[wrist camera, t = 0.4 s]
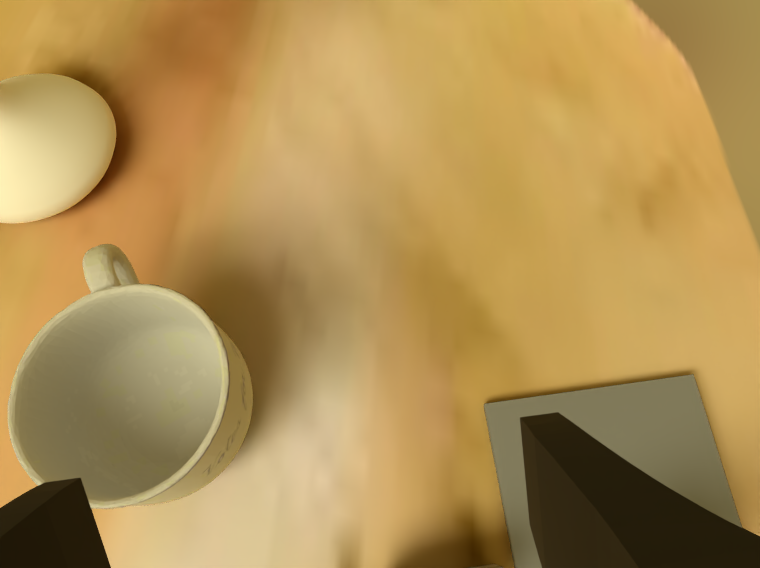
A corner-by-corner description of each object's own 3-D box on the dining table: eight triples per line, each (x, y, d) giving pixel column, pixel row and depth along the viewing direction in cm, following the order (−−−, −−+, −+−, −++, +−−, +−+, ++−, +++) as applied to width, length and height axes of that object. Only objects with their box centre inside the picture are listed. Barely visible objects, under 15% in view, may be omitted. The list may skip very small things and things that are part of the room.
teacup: (272, 497, 36) (235, 488, 28) (78, 527, 35) (-10, 525, 28) (255, 269, 41) (220, 210, 33) (86, 294, 41) (12, 240, 33)
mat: (769, 628, 32) (774, 630, 32) (532, 662, 32) (534, 664, 32) (689, 376, 37) (693, 374, 36) (483, 405, 37) (484, 403, 36)
